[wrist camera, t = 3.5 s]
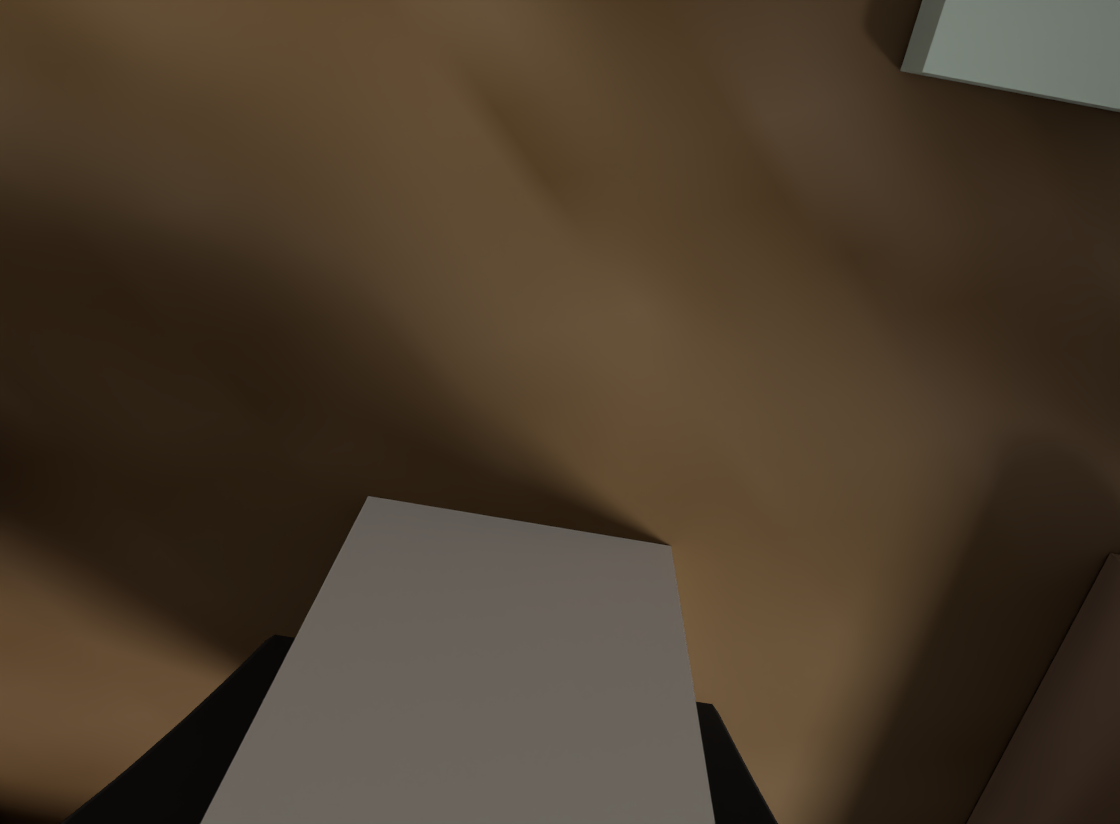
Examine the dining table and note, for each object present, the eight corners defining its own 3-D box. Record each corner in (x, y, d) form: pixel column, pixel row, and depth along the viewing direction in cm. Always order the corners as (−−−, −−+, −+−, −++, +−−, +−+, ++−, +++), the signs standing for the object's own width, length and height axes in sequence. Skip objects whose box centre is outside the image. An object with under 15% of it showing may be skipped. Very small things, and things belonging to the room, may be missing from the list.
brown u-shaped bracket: (1185, 565, 10) (1352, 709, 8) (926, 1010, 14) (990, 1194, 12) (-159, 339, 10) (-389, 424, 8) (-52, 866, 14) (-182, 1030, 11)
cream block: (671, 545, 11) (729, 916, 6) (612, 765, 12) (624, 1189, 8) (368, 495, 10) (193, 835, 6) (349, 725, 12) (200, 1132, 8)
